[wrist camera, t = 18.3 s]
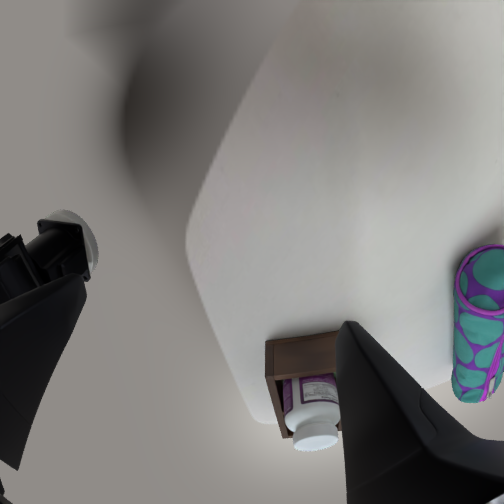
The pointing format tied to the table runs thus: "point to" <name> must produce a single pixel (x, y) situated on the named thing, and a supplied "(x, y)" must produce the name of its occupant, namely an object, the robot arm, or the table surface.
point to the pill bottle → (312, 411)
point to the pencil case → (479, 324)
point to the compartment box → (297, 366)
